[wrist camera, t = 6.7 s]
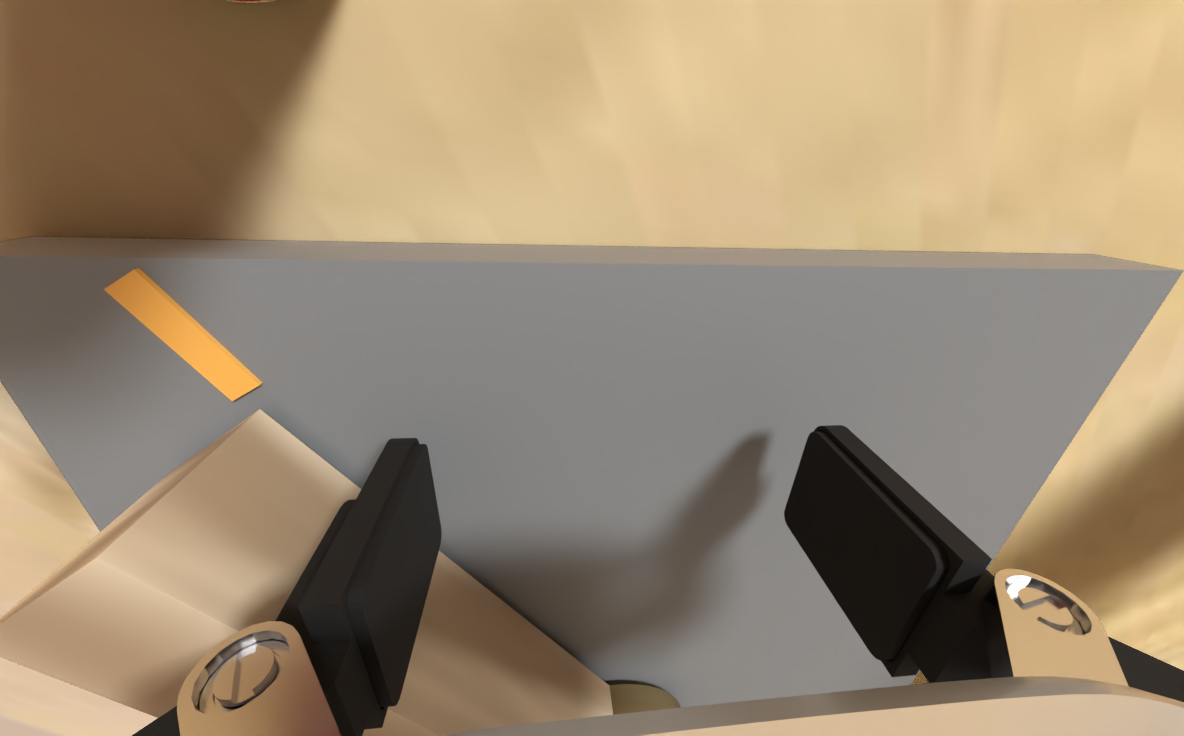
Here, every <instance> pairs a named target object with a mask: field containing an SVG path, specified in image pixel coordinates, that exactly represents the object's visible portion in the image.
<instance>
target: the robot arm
mask: <svg viewBox="0 0 1184 736" xmlns="http://www.w3.org/2000/svg"><path fill="white" fill-rule="evenodd" d="M784 518H785V522H786V524H787V526H788V528H789V529H790V531H791V532H792V534H793V535H794V537H795V538H796V540H797V541H798V543H799V545H800V546H801V548H802V549H803V551H804V552H805V554H806V555H807V557H808V558H809V560H810V561H811V563H812V564H813V566H814V567H815V569H816V571H817V572H818V574H819V575H820V577H821V578H822V580H823V581H824V583H825V584H826V586H827V587H828V589H829V590H830V592H831V593H832V595H833V597H834V598H835V600H836V601H837V603H838V604H839V606H840V607H841V609H842V610H843V612H844V613H845V615H846V616H847V618H848V619H849V621H850V623H851V624H852V626H853V627H854V629H855V630H856V632H857V633H858V635H859V636H860V638H861V639H862V641H863V642H864V644H865V645H866V647H867V649H868V650H869V652H870V653H871V654H872V655H873V656H874V657H875V658H876V659H878V660H881V662H882V663H883V665H884V666H885V668H886V669H887V671H888V672H889V674H890V675H891V677H901V676H911V675H916V674H917V673H918V671H919V670H921V672H922V673H923V674H924V676H925V677H926V679H927V683H925V684H915V685H904V686H894V687H883V688H873V689H862V690H852V691H841V692H831V693H820V694H810V695H800V696H790V697H780V698H770V699H760V700H750V701H741V702H731V703H721V704H711V705H701V706H692V707H682V708H672V709H662V710H653V711H643V712H634V713H625V714H615V715H606V716H597V717H587V718H578V719H569V720H559V721H550V722H541V723H531V724H522V725H514V726H506V727H498V728H490V729H482V730H474V731H466V732H459V733H451V734H443V735H435V736H1184V671H1183V670H1181V669H1178V668H1176V667H1174V666H1172V665H1169V664H1167V663H1165V662H1163V661H1161V660H1158V659H1156V658H1154V657H1152V656H1150V655H1147V654H1145V653H1143V652H1141V651H1139V650H1136V649H1134V648H1132V647H1130V646H1128V645H1125V644H1123V643H1121V642H1119V641H1117V640H1114V639H1112V638H1110V637H1108V636H1107V634H1106V631H1105V629H1104V626H1103V625H1102V623H1101V622H1100V620H1099V618H1098V617H1097V615H1096V614H1095V613H1094V612H1093V611H1092V610H1091V609H1090V608H1089V607H1088V606H1087V605H1086V604H1085V603H1084V602H1083V601H1081V600H1080V599H1079V598H1078V597H1076V596H1075V595H1074V594H1072V593H1071V592H1070V591H1068V590H1066V589H1065V588H1063V587H1061V586H1060V585H1058V584H1056V583H1055V582H1053V581H1051V580H1049V579H1046V578H1044V577H1042V576H1040V575H1038V574H1034V573H1031V572H1028V571H1025V570H1020V569H1011V568H1009V569H1003V570H1000V571H999V572H998V573H996V574H995V576H993V575H992V574H991V573H990V572H989V571H988V570H986V568H987V566H988V565H989V563H990V562H991V560H992V558H990V557H989V556H988V555H987V554H986V553H985V552H984V551H983V550H982V549H981V548H979V547H978V546H977V545H976V544H975V543H974V542H973V541H972V540H971V539H969V538H968V537H967V536H966V535H965V534H964V533H963V532H962V531H961V530H960V529H958V528H957V527H956V526H955V525H954V524H953V523H952V522H951V521H950V520H948V519H947V518H946V517H945V516H944V515H943V514H942V513H941V512H940V511H939V510H937V509H936V508H935V507H934V506H933V505H932V504H931V503H930V502H929V501H927V500H926V499H925V498H924V497H923V496H922V495H921V494H920V493H919V492H918V491H916V490H915V489H914V488H913V487H912V486H911V485H910V484H909V483H908V482H906V481H905V480H904V479H903V478H902V477H901V476H900V475H899V474H898V473H897V472H895V471H894V470H893V469H892V468H891V467H890V466H889V465H888V464H887V463H885V462H884V461H883V460H882V459H881V458H880V457H879V456H878V455H877V454H876V453H874V452H873V451H872V450H871V449H870V448H869V447H868V446H867V445H866V444H864V443H863V442H862V441H861V440H860V439H859V438H858V437H857V436H856V435H855V434H853V433H852V432H851V431H850V430H849V429H848V428H847V427H845V426H842V425H828V426H818V427H817V428H816V429H815V430H814V432H811V433H810V434H809V436H808V438H807V441H806V445H805V448H804V451H803V454H802V457H801V460H800V463H799V466H798V470H797V473H796V476H795V479H794V482H793V485H792V488H791V491H790V495H789V498H788V501H787V504H786V507H785V511H784ZM441 536H442V530H441V523H440V517H439V511H438V505H437V500H436V494H435V488H434V482H433V476H432V470H431V464H430V458H429V452H428V447H427V445H426V444H419V441H418V439H417V438H393V439H389V440H388V442H387V443H386V445H385V447H384V449H383V451H382V453H381V454H380V456H379V458H378V460H377V462H376V464H375V465H374V467H373V469H372V471H371V473H370V475H369V477H368V478H367V480H366V482H365V484H364V486H363V488H362V489H361V491H360V493H359V495H358V497H357V499H355V500H347V501H346V502H344V503H343V505H342V506H341V507H340V509H339V511H338V512H337V514H336V516H335V518H334V519H333V521H332V523H331V524H330V526H329V528H328V530H327V531H326V533H325V535H324V537H323V538H322V540H321V542H320V544H319V545H318V547H317V549H316V551H315V552H314V554H313V556H312V558H311V559H310V561H309V563H308V565H307V566H306V568H305V570H304V571H303V573H302V575H301V577H300V578H299V580H298V582H297V584H296V585H295V587H294V589H293V591H292V592H291V594H290V596H289V598H288V599H287V601H286V603H285V605H284V606H283V608H282V610H281V612H280V613H279V615H278V617H277V619H276V620H275V621H267V622H263V623H259V624H255V625H251V626H249V627H247V628H244V629H242V630H240V631H238V632H236V633H234V634H232V635H230V636H229V637H228V638H226V639H225V640H223V641H222V642H220V643H219V644H217V645H216V646H214V647H213V648H212V649H211V650H210V651H209V652H208V653H207V654H206V655H205V656H204V657H203V658H201V659H200V660H199V661H198V663H197V664H196V665H195V667H194V668H193V669H192V671H191V672H190V673H189V674H188V676H187V677H186V679H185V681H184V683H183V685H182V688H181V690H180V692H179V694H178V703H177V706H175V707H174V708H173V709H171V710H170V711H168V712H167V713H165V714H164V715H162V716H161V717H159V718H158V719H156V720H155V721H153V722H152V723H150V724H149V725H147V726H146V727H144V728H143V729H141V730H140V731H138V732H137V733H135V734H134V735H132V736H362V735H363V732H364V730H365V729H375V728H382V727H383V724H384V720H385V716H386V713H387V709H388V707H391V706H396V705H397V704H398V701H399V699H400V696H401V692H402V689H403V685H404V681H405V677H406V673H407V670H408V666H409V662H410V658H411V654H412V651H413V647H414V643H415V639H416V636H417V632H418V628H419V624H420V620H421V617H422V613H423V609H424V605H425V601H426V598H427V594H428V590H429V586H430V582H431V579H432V575H433V571H434V567H435V563H436V560H437V556H438V552H439V548H440V544H441Z"/></svg>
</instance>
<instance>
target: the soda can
mask: <svg viewBox="0 0 1184 736" xmlns="http://www.w3.org/2000/svg"><path fill="white" fill-rule="evenodd" d="M227 1H232V2H241V3H263V2H270V1H276V0H227Z"/></svg>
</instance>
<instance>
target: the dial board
mask: <svg viewBox="0 0 1184 736" xmlns="http://www.w3.org/2000/svg"><path fill="white" fill-rule="evenodd" d="M1183 271H1184V270H1178V269H1173V268H1167V267H1162V266H1156V265H1150V264H1145V263H1139V262H1134V261H1128V260H1123V259H1117V258H1112V257H1106V256H1101V255H1095V254H1042V253H983V252H924V251H865V250H806V249H747V248H688V247H629V246H570V245H511V244H452V243H393V242H334V241H275V240H216V239H156V238H97V237H38V236H31V237H25V238H19V239H13V240H7V241H1V242H0V381H1V382H2V384H3V385H4V387H5V388H6V390H7V391H8V393H9V394H10V396H11V397H12V399H13V401H14V402H15V404H16V405H17V407H18V408H19V410H20V411H21V413H22V414H23V416H24V417H25V419H26V420H27V422H28V423H29V425H30V426H31V428H32V429H33V431H34V432H35V434H36V435H37V437H38V438H39V440H40V441H41V443H42V444H43V446H44V447H45V449H46V450H47V452H48V453H49V455H50V456H51V458H52V459H53V461H54V463H55V464H56V466H57V467H58V469H59V470H60V472H61V473H62V475H63V476H64V478H65V479H66V481H67V482H68V484H69V485H70V487H71V488H72V490H73V491H74V493H75V494H76V496H77V497H78V499H79V500H80V502H81V503H82V505H83V506H84V508H85V509H86V511H87V512H88V514H89V515H90V517H91V518H92V520H93V521H94V523H95V525H96V526H97V528H98V529H99V531H100V532H101V531H102V530H103V529H104V528H106V527H107V526H108V525H109V524H110V523H111V522H113V521H114V520H115V519H116V518H117V517H118V516H120V515H121V514H122V513H123V512H124V511H125V510H126V509H128V508H129V507H130V506H131V505H132V504H133V503H135V502H136V501H137V500H138V499H139V498H140V497H142V496H143V495H144V494H145V493H146V492H147V491H149V490H150V489H151V488H152V487H153V486H154V485H156V484H157V483H158V482H159V481H160V480H161V479H163V478H164V477H165V476H166V475H167V474H168V473H170V472H171V471H172V470H174V469H175V468H177V467H178V466H179V465H181V464H182V463H184V462H185V461H187V460H188V459H189V458H191V457H192V456H194V455H195V454H197V453H198V452H199V451H201V450H202V449H204V448H205V447H207V446H208V445H209V444H211V443H212V442H214V441H215V440H216V439H218V438H219V437H221V436H222V435H224V434H225V433H226V432H228V431H229V430H231V429H232V428H234V427H235V426H236V425H238V424H239V423H241V422H242V421H243V420H245V419H246V418H248V417H249V416H251V415H252V414H253V413H255V412H256V411H258V410H259V409H261V410H262V411H263V412H264V413H266V414H267V415H268V416H269V417H271V418H272V419H273V420H275V421H276V422H277V423H278V424H280V425H281V426H282V427H283V428H285V429H286V430H287V431H288V432H290V433H291V434H292V435H294V436H295V437H296V438H297V439H299V440H300V441H301V442H302V443H304V444H305V445H306V446H307V447H309V448H310V449H311V450H312V451H314V452H315V453H316V454H318V455H319V456H320V457H321V458H323V459H324V460H325V461H326V462H328V463H329V464H330V465H331V466H333V467H334V468H335V469H336V470H338V471H339V472H340V473H342V474H343V475H344V476H345V477H347V478H348V479H349V480H350V481H352V482H353V483H354V484H355V485H357V486H358V487H359V488H361V489H362V488H363V486H364V484H365V482H366V480H367V478H368V477H369V475H370V473H371V471H372V469H373V467H374V465H375V464H376V462H377V460H378V458H379V456H380V454H381V453H382V451H383V449H384V447H385V445H386V443H387V442H388V440H389V439H393V438H417V439H418V441H419V444H426V445H427V447H428V452H429V458H430V464H431V470H432V476H433V482H434V488H435V494H436V500H437V505H438V511H439V517H440V523H441V530H442V536H441V544H440V548H439V551H440V552H441V553H443V554H444V555H445V556H446V557H448V558H449V559H450V560H452V561H453V562H454V563H455V564H457V565H458V566H459V567H460V568H462V569H463V570H464V571H465V572H467V573H468V574H469V575H470V576H472V577H473V578H474V579H476V580H477V581H478V582H479V583H481V584H482V585H483V586H484V587H486V588H487V589H488V590H489V591H491V592H492V593H493V594H494V595H496V596H497V597H498V598H500V599H501V600H502V601H503V602H505V603H506V604H507V605H508V606H510V607H511V608H512V609H513V610H515V611H516V612H517V613H519V614H520V615H521V616H522V617H524V618H525V619H526V620H527V621H529V622H530V623H531V624H532V625H534V626H535V627H536V628H537V629H539V630H540V631H541V632H543V633H544V634H545V635H546V636H548V637H549V638H550V639H551V640H553V641H554V642H555V643H556V644H558V645H559V646H560V647H561V648H563V649H564V650H565V651H567V652H568V653H569V654H570V655H572V656H573V657H574V658H575V659H577V660H578V661H579V662H580V663H582V664H583V665H584V666H586V667H587V668H588V669H589V670H591V671H592V672H593V673H594V674H596V675H597V676H598V677H599V678H601V679H602V680H603V681H604V682H606V683H607V684H608V685H617V684H640V685H647V686H652V687H656V688H659V689H662V690H664V691H666V692H668V693H670V694H671V695H672V696H674V697H675V698H676V699H677V701H678V702H679V704H680V706H681V708H682V707H692V706H701V705H711V704H721V703H731V702H741V701H750V700H760V699H770V698H780V697H790V696H800V695H810V694H820V693H831V692H841V691H852V690H862V689H873V688H883V687H894V686H904V685H911V684H912V682H913V681H914V679H915V678H916V676H917V675H918V673H919V672H920V670H919V671H918V673H917V674H916V675H911V676H901V677H891V675H890V674H889V672H888V671H887V669H886V668H885V666H884V665H883V663H882V662H881V660H878V659H876V658H875V657H874V656H873V655H872V654H871V653H870V652H869V650H868V649H867V647H866V645H865V644H864V642H863V641H862V639H861V638H860V636H859V635H858V633H857V632H856V630H855V629H854V627H853V626H852V624H851V623H850V621H849V619H848V618H847V616H846V615H845V613H844V612H843V610H842V609H841V607H840V606H839V604H838V603H837V601H836V600H835V598H834V597H833V595H832V593H831V592H830V590H829V589H828V587H827V586H826V584H825V583H824V581H823V580H822V578H821V577H820V575H819V574H818V572H817V571H816V569H815V567H814V566H813V564H812V563H811V561H810V560H809V558H808V557H807V555H806V554H805V552H804V551H803V549H802V548H801V546H800V545H799V543H798V541H797V540H796V538H795V537H794V535H793V534H792V532H791V531H790V529H789V528H788V526H787V524H786V522H785V518H784V511H785V507H786V504H787V501H788V498H789V495H790V491H791V488H792V485H793V482H794V479H795V476H796V473H797V470H798V466H799V463H800V460H801V457H802V454H803V451H804V448H805V445H806V441H807V438H808V436H809V434H810V433H811V432H814V430H815V429H816V428H817V427H818V426H828V425H842V426H845V427H847V428H848V429H849V430H850V431H851V432H852V433H853V434H855V435H856V436H857V437H858V438H859V439H860V440H861V441H862V442H863V443H864V444H866V445H867V446H868V447H869V448H870V449H871V450H872V451H873V452H874V453H876V454H877V455H878V456H879V457H880V458H881V459H882V460H883V461H884V462H885V463H887V464H888V465H889V466H890V467H891V468H892V469H893V470H894V471H895V472H897V473H898V474H899V475H900V476H901V477H902V478H903V479H904V480H905V481H906V482H908V483H909V484H910V485H911V486H912V487H913V488H914V489H915V490H916V491H918V492H919V493H920V494H921V495H922V496H923V497H924V498H925V499H926V500H927V501H929V502H930V503H931V504H932V505H933V506H934V507H935V508H936V509H937V510H939V511H940V512H941V513H942V514H943V515H944V516H945V517H946V518H947V519H948V520H950V521H951V522H952V523H953V524H954V525H955V526H956V527H957V528H958V529H960V530H961V531H962V532H963V533H964V534H965V535H966V536H967V537H968V538H969V539H971V540H972V541H973V542H974V543H975V544H976V545H977V546H978V547H979V548H981V549H982V550H983V551H984V552H985V553H986V554H987V555H988V556H989V557H990V558H992V560H991V562H992V561H993V559H994V558H995V556H996V555H997V553H998V552H999V550H1000V549H1001V547H1002V546H1003V544H1004V543H1005V541H1006V540H1007V538H1008V537H1009V535H1010V534H1011V532H1012V531H1013V529H1014V528H1015V526H1016V524H1017V523H1018V521H1019V520H1020V518H1021V517H1022V515H1023V514H1024V512H1025V511H1026V509H1027V508H1028V506H1029V505H1030V503H1031V502H1032V500H1033V499H1034V497H1035V496H1036V494H1037V493H1038V491H1039V490H1040V488H1041V487H1042V485H1043V484H1044V482H1045V480H1046V479H1047V477H1048V476H1049V474H1050V473H1051V471H1052V470H1053V468H1054V467H1055V465H1056V464H1057V462H1058V461H1059V459H1060V458H1061V456H1062V455H1063V453H1064V452H1065V450H1066V449H1067V447H1068V446H1069V444H1070V443H1071V441H1072V440H1073V438H1074V436H1075V435H1076V433H1077V432H1078V430H1079V429H1080V427H1081V426H1082V424H1083V423H1084V421H1085V420H1086V418H1087V417H1088V415H1089V414H1090V412H1091V411H1092V409H1093V408H1094V406H1095V405H1096V403H1097V402H1098V400H1099V399H1100V397H1101V395H1102V394H1103V392H1104V391H1105V389H1106V388H1107V386H1108V385H1109V383H1110V382H1111V380H1112V379H1113V377H1114V376H1115V374H1116V373H1117V371H1118V370H1119V368H1120V367H1121V365H1122V364H1123V362H1124V361H1125V359H1126V358H1127V356H1128V355H1129V353H1130V351H1131V350H1132V348H1133V347H1134V345H1135V344H1136V342H1137V341H1138V339H1139V338H1140V336H1141V335H1142V333H1143V332H1144V330H1145V329H1146V327H1147V326H1148V324H1149V323H1150V321H1151V320H1152V318H1153V317H1154V315H1155V314H1156V312H1157V310H1158V309H1159V307H1160V306H1161V304H1162V303H1163V301H1164V300H1165V298H1166V297H1167V295H1168V294H1169V292H1170V291H1171V289H1172V288H1173V286H1174V285H1175V283H1176V282H1177V280H1178V279H1179V277H1180V276H1181V274H1182V273H1183ZM991 562H990V563H989V565H990V564H991ZM989 565H988V566H987V568H986V570H987V569H988V567H989Z"/></svg>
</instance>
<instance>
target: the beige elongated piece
mask: <svg viewBox="0 0 1184 736" xmlns="http://www.w3.org/2000/svg"><path fill="white" fill-rule="evenodd" d="M360 491H361V488H359V487H358V486H357V485H355V484H354V483H353V482H352V481H350V480H349V479H348V478H347V477H345V476H344V475H343V474H342V473H340V472H339V471H338V470H336V469H335V468H334V467H333V466H331V465H330V464H329V463H328V462H326V461H325V460H324V459H323V458H321V457H320V456H319V455H318V454H316V453H315V452H314V451H312V450H311V449H310V448H309V447H307V446H306V445H305V444H304V443H302V442H301V441H300V440H299V439H297V438H296V437H295V436H294V435H292V434H291V433H290V432H288V431H287V430H286V429H285V428H283V427H282V426H281V425H280V424H278V423H277V422H276V421H275V420H273V419H272V418H271V417H269V416H268V415H267V414H266V413H264V412H263V411H262V410H261V409H259V410H258V411H256V412H255V413H253V414H252V415H251V416H249V417H248V418H246V419H245V420H243V421H242V422H241V423H239V424H238V425H236V426H235V427H234V428H232V429H231V430H229V431H228V432H226V433H225V434H224V435H222V436H221V437H219V438H218V439H216V440H215V441H214V442H212V443H211V444H209V445H208V446H207V447H205V448H204V449H202V450H201V451H199V452H198V453H197V454H195V455H194V456H192V457H191V458H189V459H188V460H187V461H185V462H184V463H182V464H181V465H179V466H178V467H177V468H175V469H174V470H172V471H171V472H170V473H168V474H167V475H166V476H165V477H164V478H163V479H161V480H160V481H159V482H158V483H157V484H156V485H154V486H153V487H152V488H151V489H150V490H149V491H147V492H146V493H145V494H144V495H143V496H142V497H140V498H139V499H138V500H137V501H136V502H135V503H133V504H132V505H131V506H130V507H129V508H128V509H126V510H125V511H124V512H123V513H122V514H121V515H120V516H118V517H117V518H116V519H115V520H114V521H113V522H111V523H110V524H109V525H108V526H107V527H106V528H104V529H103V530H102V531H101V532H100V533H99V534H97V535H96V536H95V537H94V538H93V539H92V540H90V541H89V542H88V543H87V544H86V545H85V546H83V547H82V548H81V549H80V550H79V551H78V552H77V553H75V554H74V555H73V556H72V557H71V558H70V559H68V560H67V561H66V562H65V563H64V564H63V565H61V566H60V567H59V568H58V569H57V570H56V571H54V572H53V573H52V574H51V575H50V576H49V577H47V578H46V579H45V580H44V581H43V582H42V583H40V584H39V585H38V586H37V587H36V588H35V589H33V590H32V591H31V592H30V593H29V594H28V595H27V596H25V597H24V598H23V599H22V600H21V601H20V602H18V603H17V604H16V605H15V606H14V607H13V608H11V609H10V610H9V611H8V612H7V613H6V614H4V615H3V616H2V617H1V618H0V657H1V658H4V659H6V660H9V661H12V662H14V663H17V664H19V665H22V666H25V667H27V668H30V669H32V670H35V671H38V672H40V673H43V674H45V675H48V676H51V677H53V678H56V679H58V680H61V681H64V682H66V683H69V684H71V685H74V686H77V687H79V688H82V689H84V690H87V691H90V692H92V693H95V694H97V695H100V696H103V697H105V698H108V699H110V700H113V701H116V702H118V703H121V704H123V705H126V706H129V707H131V708H134V709H136V710H139V711H142V712H144V713H147V714H149V715H152V716H155V717H157V718H159V717H161V716H162V715H164V714H165V713H167V712H168V711H170V710H171V709H173V708H174V707H175V706H177V703H178V694H179V692H180V690H181V688H182V685H183V683H184V681H185V679H186V677H187V676H188V674H189V673H190V672H191V671H192V669H193V668H194V667H195V665H196V664H197V663H198V661H199V660H200V659H201V658H203V657H204V656H205V655H206V654H207V653H208V652H209V651H210V650H211V649H212V648H213V647H214V646H216V645H217V644H219V643H220V642H222V641H223V640H225V639H226V638H228V637H229V636H230V635H232V634H234V633H236V632H238V631H240V630H242V629H244V628H247V627H249V626H251V625H255V624H259V623H263V622H267V621H275V620H276V619H277V617H278V615H279V613H280V612H281V610H282V608H283V606H284V605H285V603H286V601H287V599H288V598H289V596H290V594H291V592H292V591H293V589H294V587H295V585H296V584H297V582H298V580H299V578H300V577H301V575H302V573H303V571H304V570H305V568H306V566H307V565H308V563H309V561H310V559H311V558H312V556H313V554H314V552H315V551H316V549H317V547H318V545H319V544H320V542H321V540H322V538H323V537H324V535H325V533H326V531H327V530H328V528H329V526H330V524H331V523H332V521H333V519H334V518H335V516H336V514H337V512H338V511H339V509H340V507H341V506H342V505H343V503H344V502H346V501H347V500H355V499H357V497H358V495H359V493H360ZM672 708H681V706H680V704H679V702H678V701H677V699H676V698H675V697H674V696H672V695H671V694H670V693H668V692H666V691H664V690H662V689H659V688H656V687H652V686H647V685H640V684H617V685H608V684H607V683H606V682H604V681H603V680H602V679H601V678H599V677H598V676H597V675H596V674H594V673H593V672H592V671H591V670H589V669H588V668H587V667H586V666H584V665H583V664H582V663H580V662H579V661H578V660H577V659H575V658H574V657H573V656H572V655H570V654H569V653H568V652H567V651H565V650H564V649H563V648H561V647H560V646H559V645H558V644H556V643H555V642H554V641H553V640H551V639H550V638H549V637H548V636H546V635H545V634H544V633H543V632H541V631H540V630H539V629H537V628H536V627H535V626H534V625H532V624H531V623H530V622H529V621H527V620H526V619H525V618H524V617H522V616H521V615H520V614H519V613H517V612H516V611H515V610H513V609H512V608H511V607H510V606H508V605H507V604H506V603H505V602H503V601H502V600H501V599H500V598H498V597H497V596H496V595H494V594H493V593H492V592H491V591H489V590H488V589H487V588H486V587H484V586H483V585H482V584H481V583H479V582H478V581H477V580H476V579H474V578H473V577H472V576H470V575H469V574H468V573H467V572H465V571H464V570H463V569H462V568H460V567H459V566H458V565H457V564H455V563H454V562H453V561H452V560H450V559H449V558H448V557H446V556H445V555H444V554H443V553H441V552H440V551H439V552H438V556H437V560H436V563H435V567H434V571H433V575H432V579H431V582H430V586H429V590H428V594H427V598H426V601H425V605H424V609H423V613H422V617H421V620H420V624H419V628H418V632H417V636H416V639H415V643H414V647H413V651H412V654H411V658H410V662H409V666H408V670H407V673H406V677H405V681H404V685H403V689H402V692H401V696H400V699H399V701H398V704H397V705H396V706H391V707H388V709H387V713H386V716H385V720H384V724H383V727H382V728H375V729H365V730H364V732H363V735H362V736H435V735H443V734H451V733H459V732H466V731H474V730H482V729H490V728H498V727H506V726H514V725H522V724H531V723H541V722H550V721H559V720H569V719H578V718H587V717H597V716H606V715H615V714H625V713H634V712H643V711H653V710H662V709H672Z"/></svg>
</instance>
